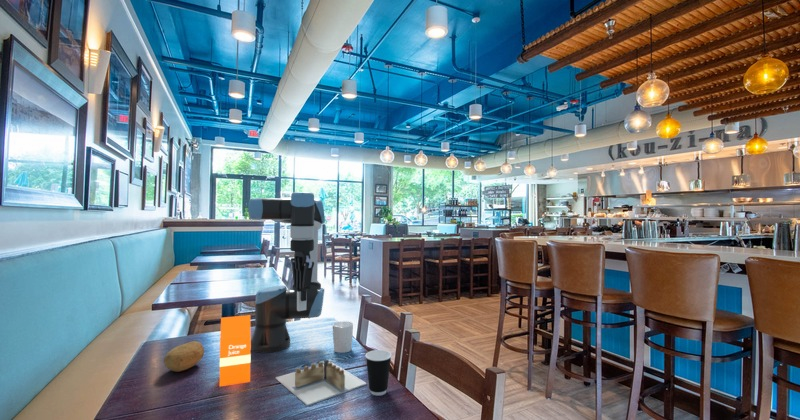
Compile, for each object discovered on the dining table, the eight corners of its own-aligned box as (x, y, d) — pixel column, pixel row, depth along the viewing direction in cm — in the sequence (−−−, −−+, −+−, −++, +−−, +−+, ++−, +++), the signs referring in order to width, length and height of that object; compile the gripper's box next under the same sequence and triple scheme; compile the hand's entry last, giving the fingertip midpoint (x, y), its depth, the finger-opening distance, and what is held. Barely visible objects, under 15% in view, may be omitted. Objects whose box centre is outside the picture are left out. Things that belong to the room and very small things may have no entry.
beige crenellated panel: (321, 377, 117) (322, 361, 117) (323, 379, 116) (323, 362, 116) (295, 385, 111) (295, 368, 111) (296, 387, 110) (296, 370, 110)
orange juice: (220, 376, 119) (221, 314, 119) (249, 372, 122) (250, 312, 123) (219, 386, 112) (220, 321, 112) (250, 381, 115) (251, 318, 116)
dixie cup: (359, 391, 110) (359, 354, 110) (379, 383, 115) (380, 347, 115) (376, 401, 104) (376, 362, 104) (397, 392, 109) (397, 355, 110)
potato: (153, 376, 119) (154, 351, 119) (187, 360, 132) (187, 337, 132) (179, 379, 116) (179, 354, 117) (211, 362, 130) (211, 339, 130)
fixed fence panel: (323, 379, 117) (323, 360, 117) (326, 378, 118) (327, 359, 118) (340, 391, 109) (341, 371, 109) (344, 390, 110) (345, 370, 110)
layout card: (275, 378, 118) (275, 377, 118) (330, 362, 131) (330, 361, 131) (307, 406, 101) (307, 404, 101) (366, 384, 114) (366, 383, 114)
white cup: (348, 354, 139) (349, 327, 139) (329, 352, 140) (329, 326, 140) (355, 347, 146) (355, 321, 147) (336, 345, 148) (337, 320, 148)
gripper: (321, 239, 118) (321, 312, 119) (304, 236, 128) (303, 304, 129) (300, 241, 114) (299, 316, 114) (283, 237, 124) (282, 307, 124)
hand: (301, 310), depth 121 cm, fingers closed
